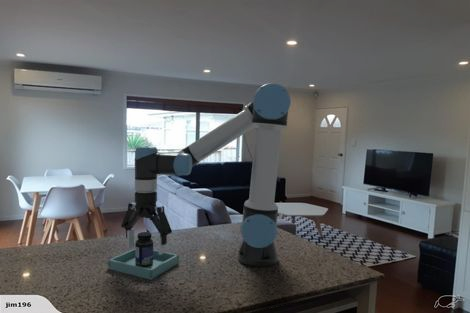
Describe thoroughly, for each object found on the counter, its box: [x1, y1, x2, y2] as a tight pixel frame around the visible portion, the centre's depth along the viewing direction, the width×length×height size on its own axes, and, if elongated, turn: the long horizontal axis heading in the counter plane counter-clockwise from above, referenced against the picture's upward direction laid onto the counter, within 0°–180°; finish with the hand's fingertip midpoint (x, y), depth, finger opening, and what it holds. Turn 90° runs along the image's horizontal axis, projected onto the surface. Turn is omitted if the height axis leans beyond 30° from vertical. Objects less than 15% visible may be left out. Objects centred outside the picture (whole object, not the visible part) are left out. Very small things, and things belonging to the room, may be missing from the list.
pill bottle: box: [134, 231, 154, 267], centre depth 122 cm, size 6×6×11 cm
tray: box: [107, 248, 180, 281], centre depth 122 cm, size 18×16×3 cm
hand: (145, 250), depth 122 cm, fingers open, 13 cm apart
